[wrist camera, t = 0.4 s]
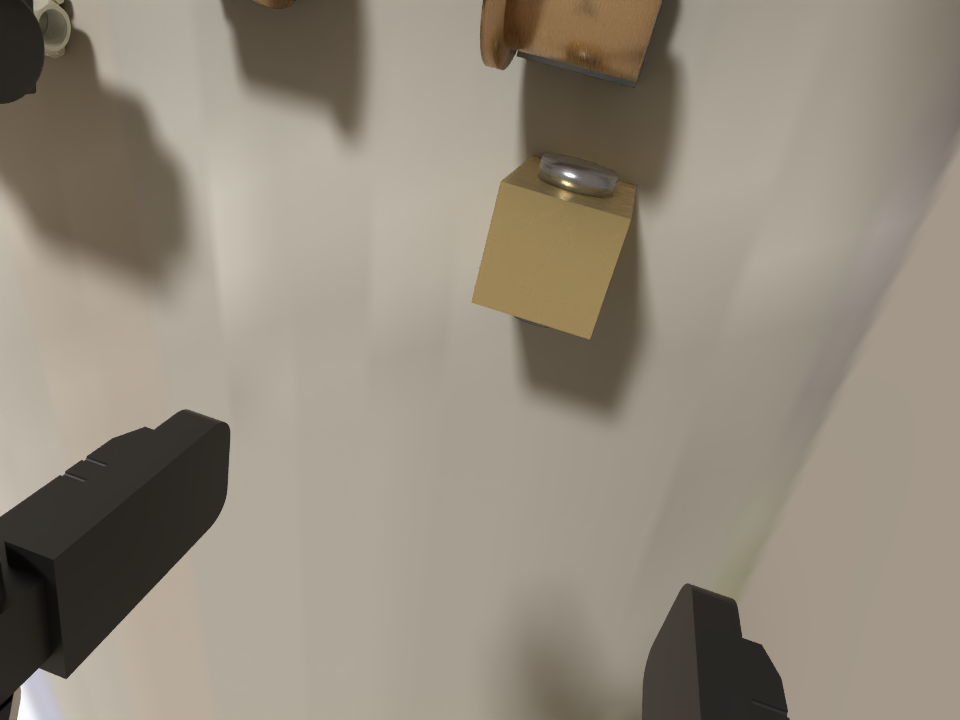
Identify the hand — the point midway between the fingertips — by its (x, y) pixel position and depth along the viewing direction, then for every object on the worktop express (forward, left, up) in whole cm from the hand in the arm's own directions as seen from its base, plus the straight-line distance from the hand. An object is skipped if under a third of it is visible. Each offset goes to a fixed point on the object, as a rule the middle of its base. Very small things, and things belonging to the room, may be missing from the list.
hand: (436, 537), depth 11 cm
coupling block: (0, 0, -23) cm, 23 cm away
